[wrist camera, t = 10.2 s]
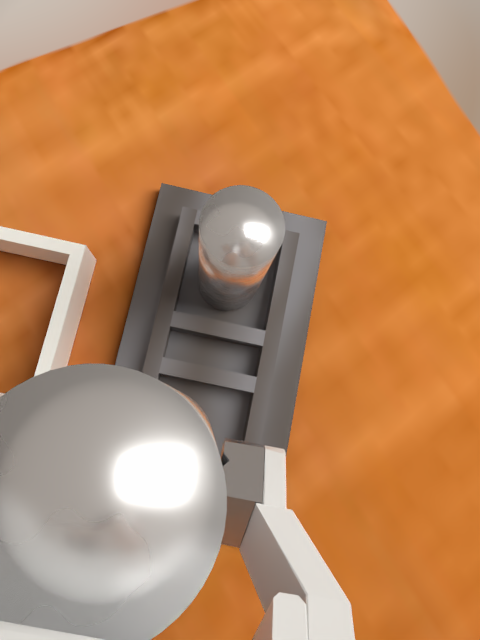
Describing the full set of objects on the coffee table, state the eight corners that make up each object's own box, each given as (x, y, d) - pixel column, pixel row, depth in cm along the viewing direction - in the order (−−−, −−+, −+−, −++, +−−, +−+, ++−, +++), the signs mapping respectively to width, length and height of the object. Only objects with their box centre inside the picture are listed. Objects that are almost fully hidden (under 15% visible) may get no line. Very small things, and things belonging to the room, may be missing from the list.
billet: (223, 399, 17) (250, 392, 7) (200, 511, 16) (194, 687, 6) (117, 378, 16) (-13, 339, 7) (89, 490, 16) (-106, 635, 6)
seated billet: (261, 261, 31) (292, 196, 21) (250, 316, 30) (276, 275, 20) (205, 248, 30) (209, 176, 21) (192, 304, 30) (190, 256, 20)
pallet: (322, 226, 33) (333, 212, 30) (267, 542, 28) (274, 555, 26) (162, 189, 32) (160, 172, 30) (81, 506, 28) (70, 517, 25)
